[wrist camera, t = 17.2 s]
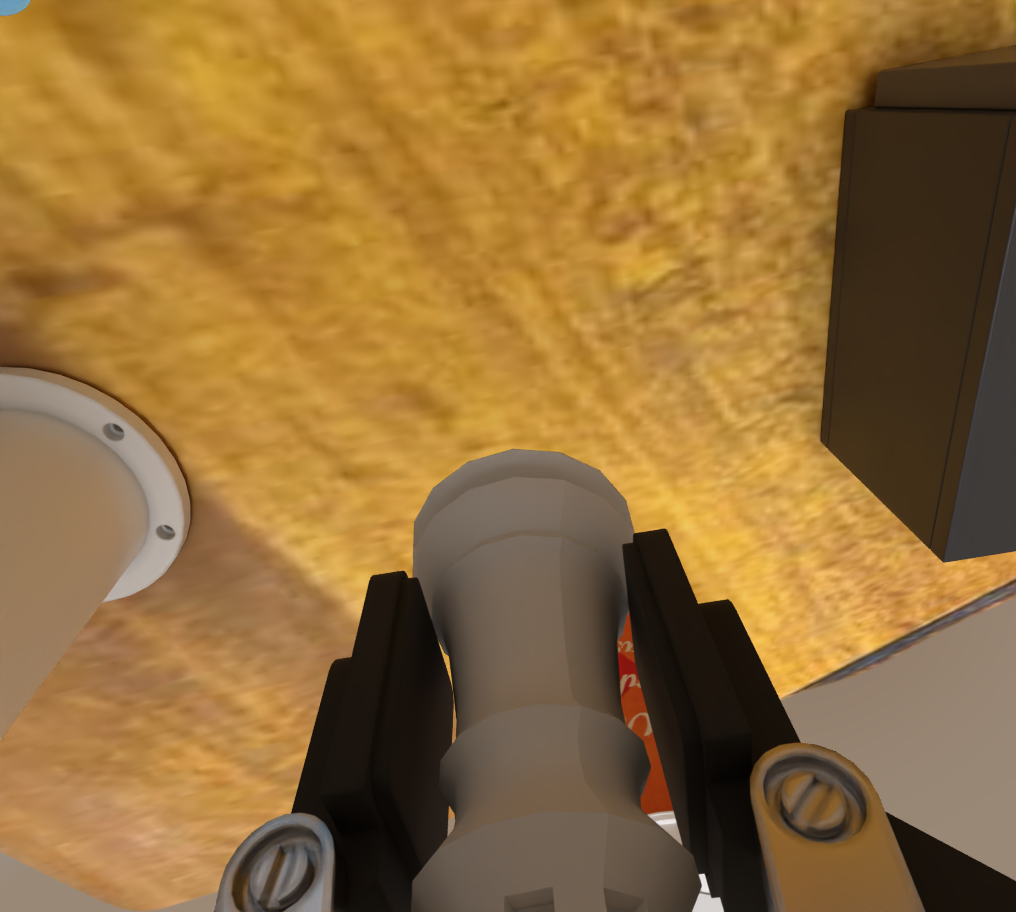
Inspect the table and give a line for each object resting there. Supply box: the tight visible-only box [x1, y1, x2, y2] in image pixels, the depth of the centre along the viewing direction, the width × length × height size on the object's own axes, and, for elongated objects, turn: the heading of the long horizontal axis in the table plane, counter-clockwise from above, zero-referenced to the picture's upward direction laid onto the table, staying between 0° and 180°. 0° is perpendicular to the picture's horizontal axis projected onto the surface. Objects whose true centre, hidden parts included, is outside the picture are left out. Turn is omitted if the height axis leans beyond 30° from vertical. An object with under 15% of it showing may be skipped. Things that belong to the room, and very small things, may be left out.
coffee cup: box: [617, 614, 724, 912], centre depth 31 cm, size 8×8×15 cm
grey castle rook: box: [411, 449, 702, 912], centre depth 10 cm, size 4×4×8 cm
